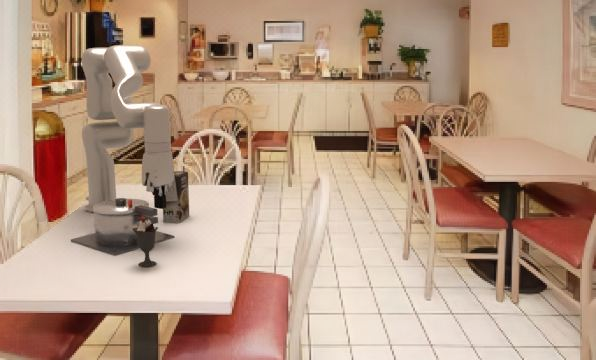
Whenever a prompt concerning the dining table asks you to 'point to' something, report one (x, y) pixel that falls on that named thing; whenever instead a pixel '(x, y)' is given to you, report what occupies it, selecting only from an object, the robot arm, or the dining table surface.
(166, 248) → the dining table surface
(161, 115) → the robot arm
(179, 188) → the coffee box
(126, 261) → the dining table surface
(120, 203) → the lid
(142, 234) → the sundae
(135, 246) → the cooker
